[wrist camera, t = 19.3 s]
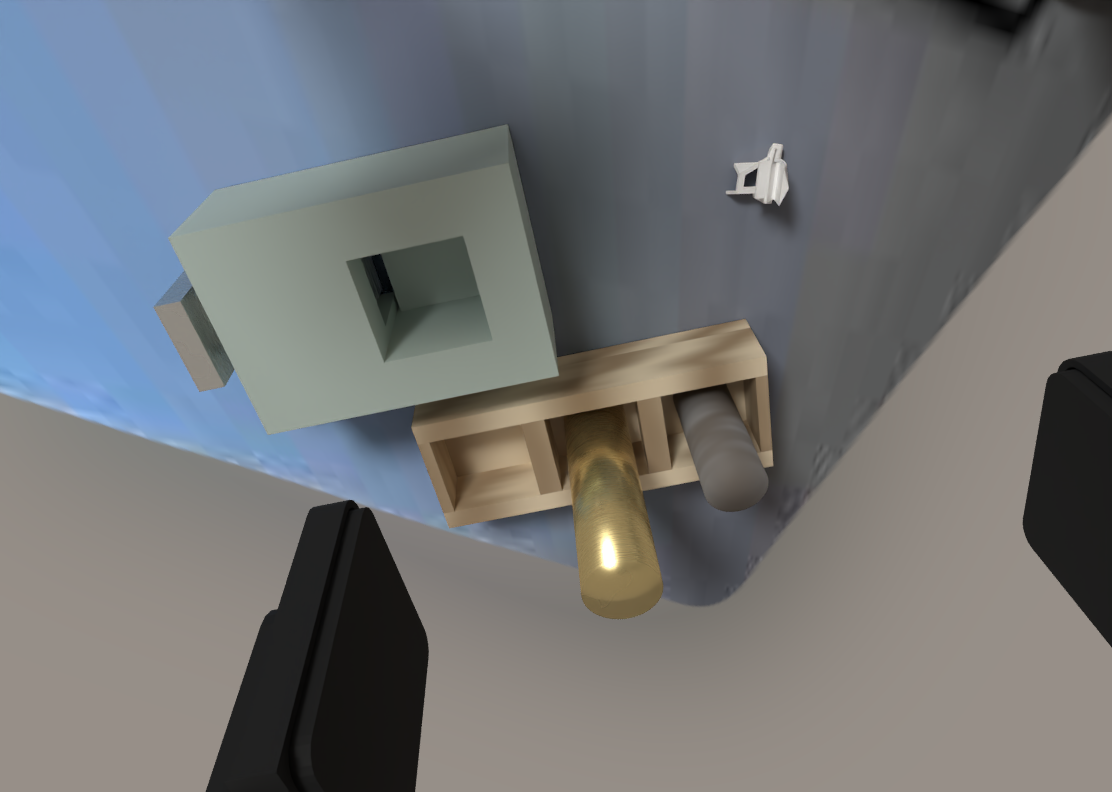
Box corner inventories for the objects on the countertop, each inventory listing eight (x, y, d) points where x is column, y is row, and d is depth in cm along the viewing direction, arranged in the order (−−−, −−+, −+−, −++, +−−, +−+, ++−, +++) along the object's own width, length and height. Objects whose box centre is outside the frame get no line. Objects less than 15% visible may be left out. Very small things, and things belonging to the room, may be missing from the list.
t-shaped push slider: (358, 221, 37) (338, 267, 33) (388, 302, 40) (372, 355, 35) (195, 257, 38) (153, 307, 33) (234, 335, 40) (199, 391, 36)
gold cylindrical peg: (619, 383, 42) (657, 554, 31) (628, 433, 44) (667, 611, 33) (557, 395, 42) (574, 569, 31) (569, 444, 44) (589, 625, 33)
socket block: (507, 124, 35) (508, 162, 30) (552, 316, 41) (559, 375, 36) (214, 189, 36) (168, 238, 31) (296, 369, 42) (267, 434, 37)
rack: (745, 318, 42) (798, 413, 34) (753, 423, 45) (803, 529, 38) (418, 385, 43) (400, 491, 35) (453, 482, 46) (443, 596, 39)
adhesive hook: (774, 194, 38) (794, 216, 36) (722, 197, 38) (738, 219, 36) (782, 131, 37) (804, 150, 34) (728, 133, 37) (745, 152, 34)
